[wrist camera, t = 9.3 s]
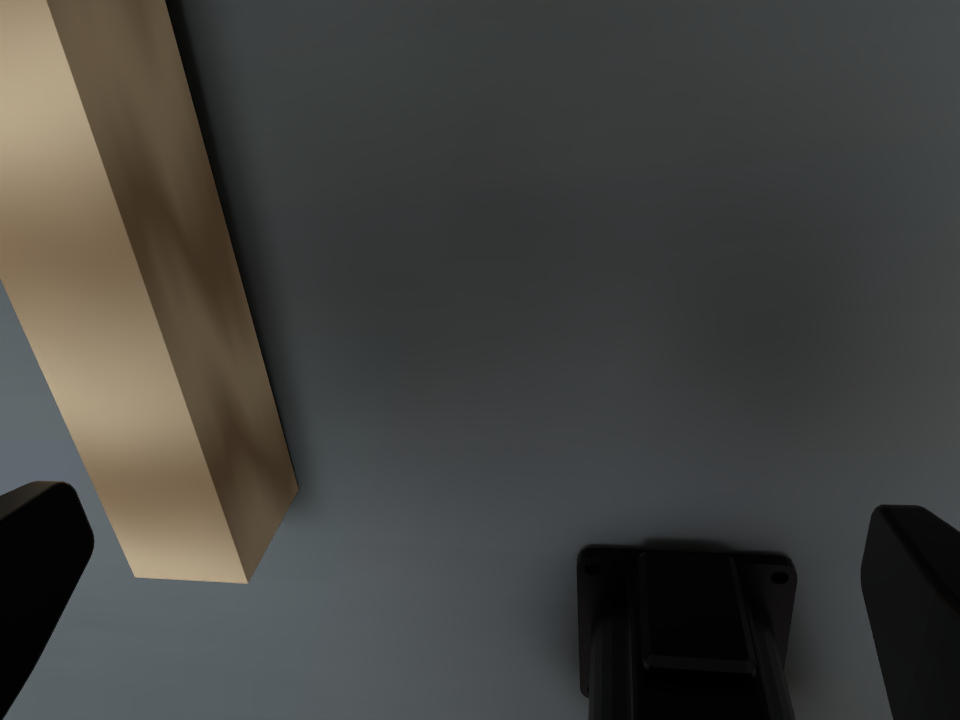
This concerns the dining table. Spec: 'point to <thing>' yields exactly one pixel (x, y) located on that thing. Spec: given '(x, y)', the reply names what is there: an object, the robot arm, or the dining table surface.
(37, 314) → the rail
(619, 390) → the dining table surface
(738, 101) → the dining table surface
